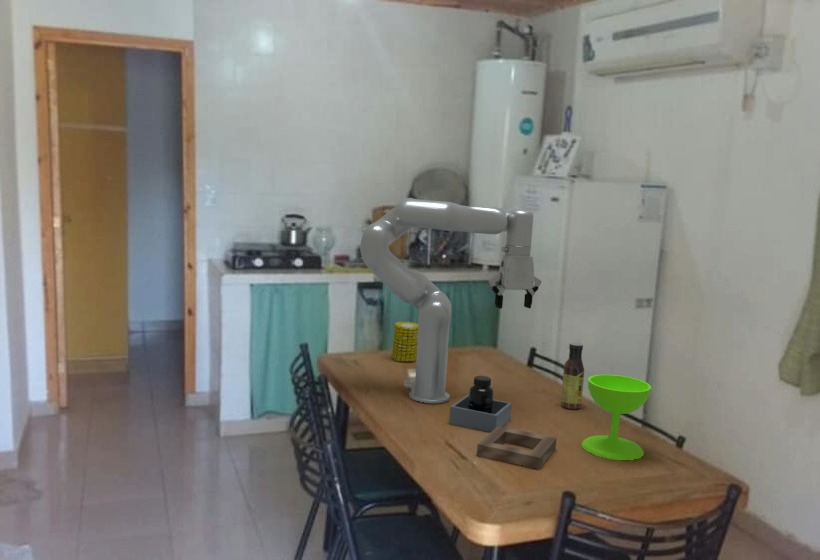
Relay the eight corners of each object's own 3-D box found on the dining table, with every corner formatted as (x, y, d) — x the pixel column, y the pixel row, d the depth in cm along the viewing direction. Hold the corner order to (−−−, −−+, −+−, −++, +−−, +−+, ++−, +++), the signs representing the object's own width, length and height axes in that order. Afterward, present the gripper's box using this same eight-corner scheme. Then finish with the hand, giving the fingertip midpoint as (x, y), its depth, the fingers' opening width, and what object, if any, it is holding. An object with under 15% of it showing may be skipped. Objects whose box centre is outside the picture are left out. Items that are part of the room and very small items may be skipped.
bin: (449, 423, 210) (450, 406, 210) (466, 410, 223) (467, 394, 222) (495, 433, 205) (496, 415, 204) (510, 419, 217) (511, 403, 216)
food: (410, 360, 283) (418, 368, 274) (381, 353, 280) (388, 362, 270) (422, 322, 282) (430, 329, 272) (393, 315, 278) (400, 322, 268)
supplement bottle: (462, 418, 213) (465, 377, 211) (475, 413, 218) (478, 373, 217) (483, 424, 209) (486, 382, 207) (496, 418, 214) (499, 378, 212)
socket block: (476, 455, 188) (477, 444, 187) (496, 436, 202) (497, 426, 202) (539, 469, 181) (540, 457, 181) (555, 449, 196) (556, 438, 195)
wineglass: (647, 445, 203) (654, 381, 200) (639, 465, 188) (647, 396, 185) (587, 434, 209) (594, 371, 206) (575, 452, 194) (582, 385, 192)
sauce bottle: (581, 411, 229) (587, 347, 226) (560, 408, 230) (566, 345, 227) (580, 404, 235) (586, 343, 233) (560, 402, 237) (566, 341, 234)
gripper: (497, 252, 218) (492, 310, 220) (549, 253, 224) (544, 309, 226) (486, 249, 225) (481, 305, 227) (537, 250, 231) (532, 305, 233)
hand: (513, 307), depth 227 cm, fingers open, 9 cm apart
